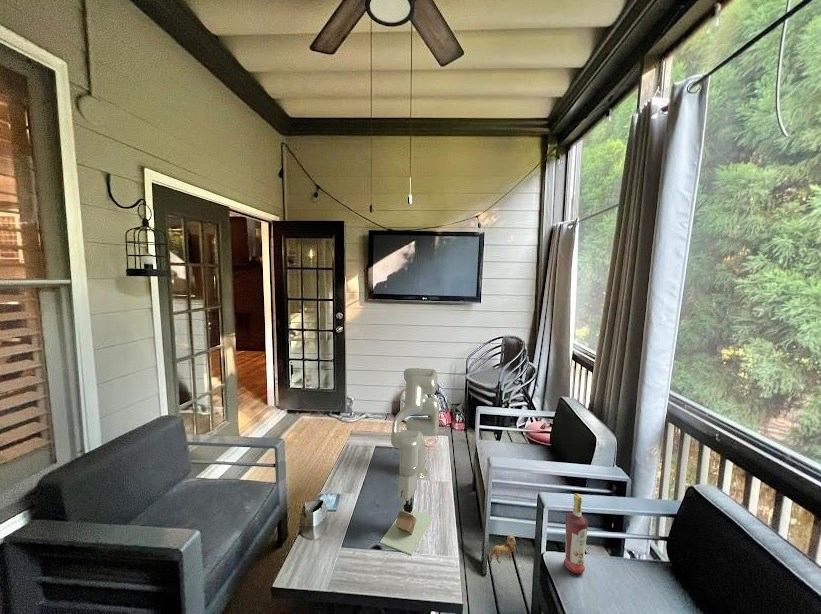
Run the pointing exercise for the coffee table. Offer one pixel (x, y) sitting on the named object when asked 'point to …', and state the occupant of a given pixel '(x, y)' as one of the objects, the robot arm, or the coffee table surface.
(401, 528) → the walnut cube
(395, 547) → the rubber mat
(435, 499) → the coffee table surface
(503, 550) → the lion figurine
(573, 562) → the liquor
